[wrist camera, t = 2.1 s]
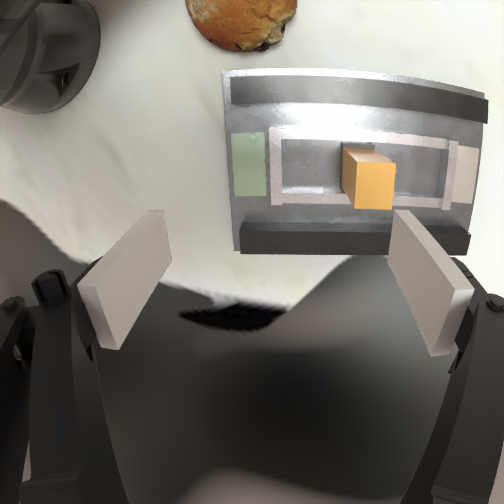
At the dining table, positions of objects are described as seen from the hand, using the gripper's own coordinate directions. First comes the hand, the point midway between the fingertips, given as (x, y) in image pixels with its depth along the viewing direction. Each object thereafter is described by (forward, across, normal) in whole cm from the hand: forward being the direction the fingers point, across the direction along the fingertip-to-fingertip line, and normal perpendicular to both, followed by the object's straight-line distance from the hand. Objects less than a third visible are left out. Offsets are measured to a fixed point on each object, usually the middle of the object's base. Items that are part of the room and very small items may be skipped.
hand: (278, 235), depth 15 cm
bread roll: (+18, -3, +16) cm, 24 cm away
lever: (+16, +7, 0) cm, 17 cm away
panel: (+18, +8, 0) cm, 20 cm away
